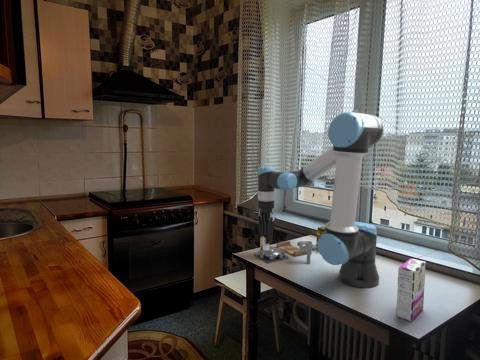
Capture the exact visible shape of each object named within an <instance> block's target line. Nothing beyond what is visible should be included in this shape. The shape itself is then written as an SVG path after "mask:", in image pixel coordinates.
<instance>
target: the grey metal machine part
mask: <svg viewBox="0 0 480 360" xmlns="http://www.w3.org/2000/svg"><path fill="white" fill-rule="evenodd" d="M259 239H260V240H259V241H260V242H259V243H260V249H257V253H258V255H260V257H261V258H270V259H274V258H283V256H285V255H286V252H285V251H282V248H277V247H274V246H269V250H266V251H264V250H263V242H262V236H260V238H259Z"/></svg>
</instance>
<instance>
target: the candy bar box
mask: <svg viewBox="0 0 480 360" xmlns="http://www.w3.org/2000/svg"><path fill="white" fill-rule="evenodd" d="M426 265H427V262H426V261H424V260H421V259H415V258H409V259H408V260H406V261H405V262H403V263H402V264H401V265H400V266H399V267H398V272H397V273H398V274H397V295H396V296H397V297H396V299H397V300H396V317H398V318H400V319H402V320H403V319H404V320H406V321H409V322H413V321H414V320H415V319H416V317H417V316H418V315H420V313H421V312H422V311H423V310H424V299H425V298H424V297H425V284H426V283H425V282H426Z"/></svg>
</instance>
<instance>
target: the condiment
mask: <svg viewBox="0 0 480 360" xmlns="http://www.w3.org/2000/svg"><path fill="white" fill-rule="evenodd" d="M323 234H325V226H318V227H317V231H316V243H315V245H316V244H317V242H318V239H319V238H320V237H321V236H322V235H323ZM313 248H314V249H315V248H317V247H313ZM315 252H316V253H317V254H320V253H319V251H315Z"/></svg>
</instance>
